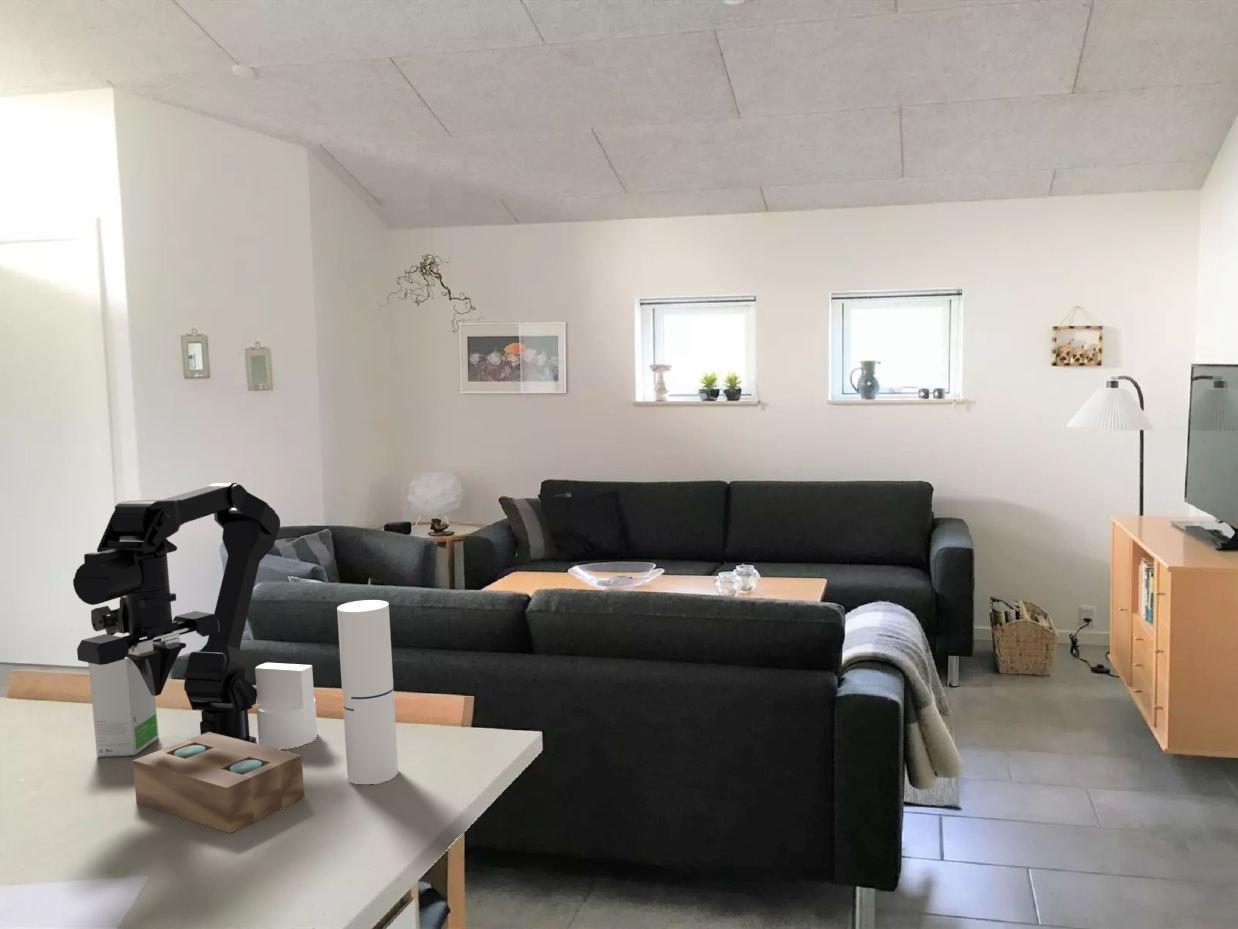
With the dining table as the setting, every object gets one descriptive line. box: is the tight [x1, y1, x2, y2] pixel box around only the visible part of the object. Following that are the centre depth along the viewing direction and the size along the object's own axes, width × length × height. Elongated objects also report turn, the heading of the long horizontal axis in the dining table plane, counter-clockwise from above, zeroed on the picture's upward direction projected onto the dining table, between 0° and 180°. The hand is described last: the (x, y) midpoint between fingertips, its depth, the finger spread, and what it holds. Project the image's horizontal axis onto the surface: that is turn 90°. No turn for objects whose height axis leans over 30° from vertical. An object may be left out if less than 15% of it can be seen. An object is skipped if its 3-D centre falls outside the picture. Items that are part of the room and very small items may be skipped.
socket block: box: [132, 732, 305, 834], centre depth 137 cm, size 12×20×6 cm, turn 59°
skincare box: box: [87, 657, 160, 758], centre depth 157 cm, size 8×7×16 cm
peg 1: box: [174, 745, 205, 759], centre depth 140 cm, size 4×4×6 cm
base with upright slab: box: [254, 662, 319, 750], centre depth 159 cm, size 9×9×12 cm
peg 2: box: [230, 760, 262, 775], centre depth 133 cm, size 4×4×6 cm
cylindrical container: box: [336, 599, 399, 785], centre depth 142 cm, size 7×7×25 cm
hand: (156, 695), depth 142 cm, fingers closed
